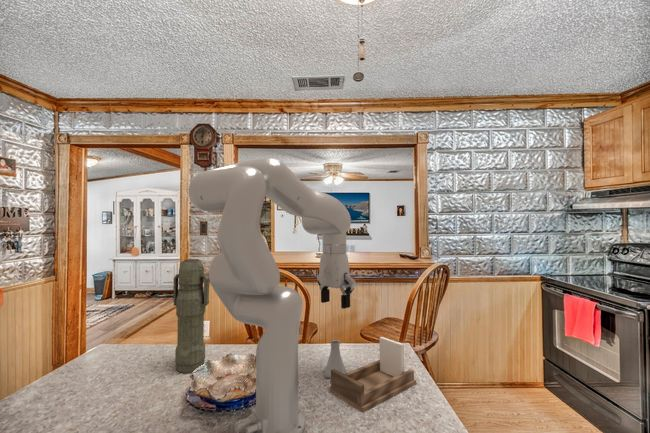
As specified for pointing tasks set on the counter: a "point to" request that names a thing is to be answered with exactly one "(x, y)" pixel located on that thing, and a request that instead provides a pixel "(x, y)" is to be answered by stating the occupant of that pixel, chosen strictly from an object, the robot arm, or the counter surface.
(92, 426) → the counter surface
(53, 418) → the counter surface
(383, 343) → the rectangular block
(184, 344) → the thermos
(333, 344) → the flask
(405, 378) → the wooden crate tray
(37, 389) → the counter surface
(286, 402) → the robot arm
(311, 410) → the counter surface
